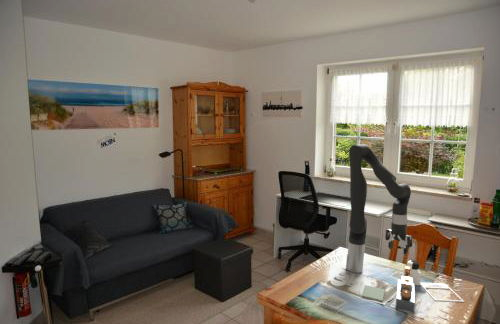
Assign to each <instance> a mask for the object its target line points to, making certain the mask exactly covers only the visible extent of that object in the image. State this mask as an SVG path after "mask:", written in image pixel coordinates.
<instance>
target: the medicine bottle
mask: <svg viewBox="0 0 500 324" xmlns="http://www.w3.org/2000/svg"><path fill="white" fill-rule="evenodd" d="M406 266H407V267H410V276H409V277H410V278H412V282H414V283H415V286H421V285H420V284H421V282H422V275H423V274H422V272H421V271H420V263H419V262H418V261H416V260H411V259H410V260H408V261H407V264H406ZM404 273H405V266H404V267H403V274H402V276H404Z"/></svg>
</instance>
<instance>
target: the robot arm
mask: <svg viewBox="0 0 500 324" xmlns="http://www.w3.org/2000/svg"><path fill="white" fill-rule="evenodd" d="M348 157H349V158H348V159H349V161H348V162H349V171H350V172H349V173H350V174H349V176H350V179H349V180H350V182H349V183H350V184H349V186H350V187H349V199H350V219H349V228H350V229H349V235H348V245H347V247H348V248H347V254H346V262H345V263H346V264H345V270H346V271H348V272H350V273H354V274H361V273H362V272H363V271H364V259H365V258H364V257H365V246H366V237H367V228H368V227H367V226H368V222H367V219H366V217H365V210H366V208H365V207H366V204H367V203H366V202H367V197H368V196H367V194H368V183H367V180H366V177H365V175H364V173H363V171H362V161H365V162H366V163H367V164H368V165H370V166H369V167H371V169H372V171H373V173H374V176H375V177H376V178H377V179H378V180H379V181H380V183H382V184H383V185H384V186H385V188H386V190H387V191H388V193H389V194H390V196H392V197H393V198H394V199H396V200H395V201H394V202H393V203H392V211H391V222H390V223H391V224H390V228H387V229H385V237H384V239H385V241H387V242H388V250H389V249H390V250H393V248H394V242H393V241H394V240H395V241H398V242H400V244H402V245H403V252H402V253H403V255H408V253H409V248H412V247H413V236H412V235H408V234H407V231H408V205H409V202H410V199H411V195H412V194H411V193H412V191H411V187H410V185H408V184H407V183H397V182H396V181H397V177H396V176H395V175H394V174H393V173H392V172H391V171H390V170H389V169H388V168H387V167H386V166H385V165H384V164H383V163H382V162H381V160H380V159H379V158H378V157H377V155H376V154H375V153H374V151H373V150H372V149H371V147H370V146H369V145H367V144H364V143H359V144H353V145H351V146H350V148H349V150H348Z"/></svg>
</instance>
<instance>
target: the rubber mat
mask: <svg viewBox="0 0 500 324" xmlns="http://www.w3.org/2000/svg"><path fill="white" fill-rule="evenodd" d="M361 297H362V298H366V299H369V300H374V301H377V302H381V301H382V303H384V302H383V301H384V298H383V297H385V289H383V288H379V287H375V286H371V285H366V284H364V287H363V291H362V294H361Z"/></svg>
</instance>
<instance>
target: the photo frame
mask: <svg viewBox="0 0 500 324" xmlns="http://www.w3.org/2000/svg"><path fill="white" fill-rule="evenodd" d="M419 286H421V288H422V289H423V290H424V291H425V292H426V293H427V294H428V295H429V296H430V297H431V299H433V301H435V302H451V303H452V302H453V303H465V301H464V300H463V298H461V296H459V294H457V293H456V292H455V291H454V290H453V289H452V288H451V287H450V286H449V284H446V283H442V282H441V283H440V282H422V281H421V284H420V285H419ZM427 289H437V290H450V292H452V293H453V294H454V296H456V297H457V299H459V300H457V299H441V298H440V299H439V298H438V299H436V298H435V297H434V296H433V295H432V294H431V293H430V291H429V290H427Z"/></svg>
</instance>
